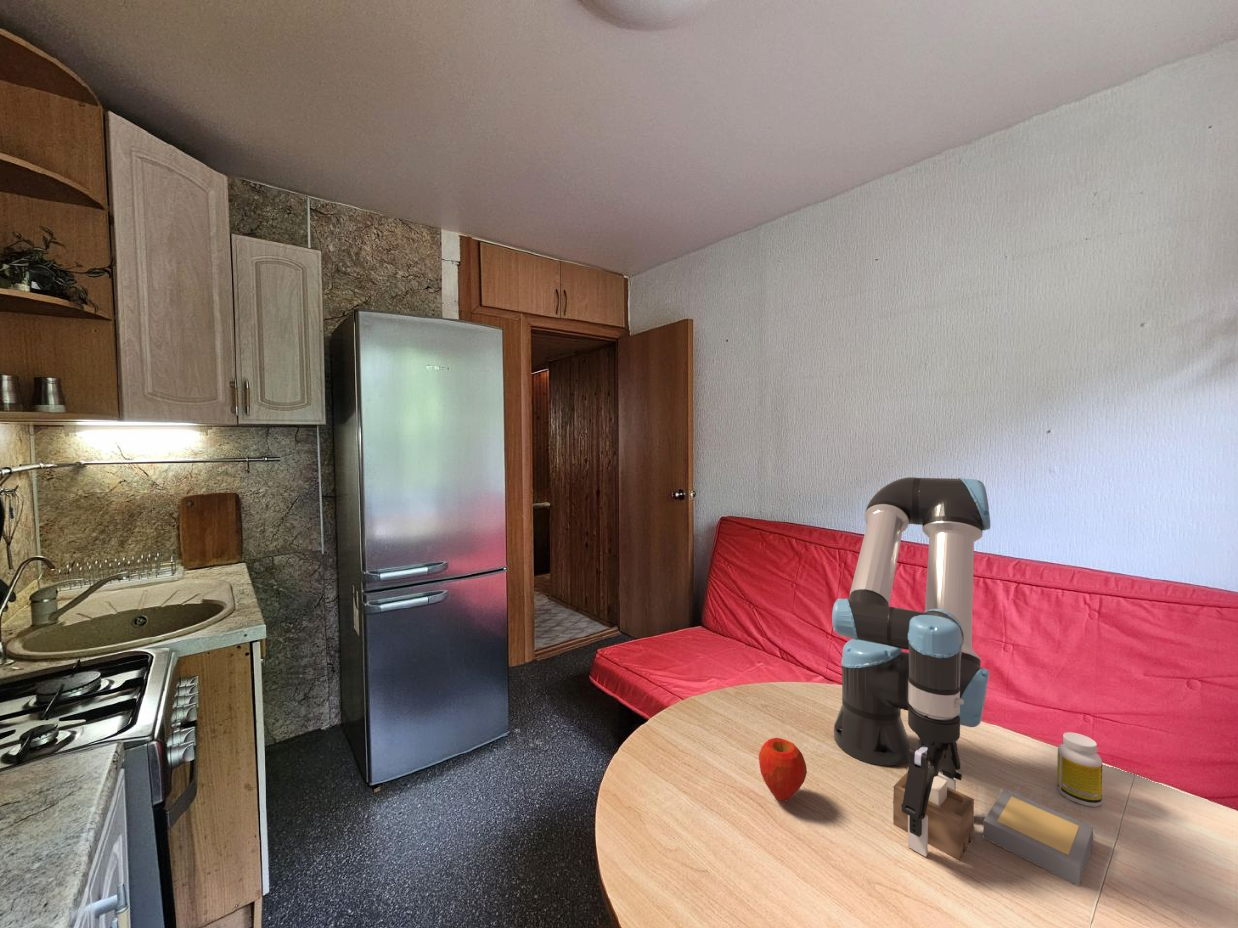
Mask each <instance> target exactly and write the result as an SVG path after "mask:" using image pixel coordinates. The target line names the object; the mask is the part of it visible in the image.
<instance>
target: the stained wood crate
mask: <svg viewBox="0 0 1238 928" xmlns="http://www.w3.org/2000/svg"><path fill="white" fill-rule="evenodd" d="M907 775H908V771H907V772H906V773H905V774H904V775H902V777H901V778H900V779H899V780H898V781H897V782H896V783H895V784H894V785H893V800H892V801H893V804H892V805H893V811H892V812H893V815H892V816H893V819H892V822H893V823H892V824H893V825H894V826H896V827H897V828H899V829H901V830H903V831H905V832H906V833H908V815H907V814H905V813H904V812H902V807H901V804H903V799H904V793H905V787H906V781H907ZM925 815H927V816H928V846H931V847H933V848H934V849H936V850H939V851H941V852H942V853H944V854H946V855H948V856H949V857H951V858H953V859H955V860H956V861H958V862H960V861H961V860H962V858H963V856H964V853H966V852H967V850H968V848H969V844H972V842H973V840H974V837H975V836H974V835H975V833H974V831H975V829H974V827H975V825H974V824H975V822H974V820H975V819H974V818H975V816H974V815H975V799H974V798H973V797H970V796H968V795H966V794H965V793H962V792H959V791H957V790H956V791H955V790H953V789H951V788H949V787H947V798H946V799H945V801H944V802H943V803H942V805H941V806H939V805H936V804H934V803H932V802H930V801H928V805H927V809H926V814H925Z"/></svg>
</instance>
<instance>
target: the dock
mask: <svg viewBox="0 0 1238 928" xmlns="http://www.w3.org/2000/svg"><path fill="white" fill-rule="evenodd" d="M982 834H983V836H982V837H983V839H985V840H987V841H989V842H991V843H992V844H995V845H996V846H999V847H1000V848H1002V849H1005V850H1007V851H1009V852H1010V853H1012V854H1015V855H1017V856H1019V857H1021V858H1022V859H1025V860H1027V861H1028V862H1031V864H1032V863H1033V864H1035V865H1036V866H1038V867H1041V868H1042V869H1044V870H1046V871H1048V872H1050V873H1052V874H1054V875H1055V876H1058V877H1059V878H1061V879H1064V880H1065V881H1068V882H1070V883H1072V884H1073V885H1076V886H1078V887H1080V885H1081V883H1082V879H1083V876H1084V874H1085V870H1086V866H1087V864H1088V860H1089V857H1090V854H1091V852H1092V848H1093V846H1094V845H1093V844H1094V827H1093V826H1091V825H1089V824H1086V823H1084V822H1081V821H1079V820H1078V819H1075V818H1073V817H1070V816H1068V815H1065V814H1063V813H1060V812H1059V811H1057V810H1054V809H1051V808H1049V807H1047V806H1044V805H1042V804H1040V803H1037V802H1035V801H1033V800H1031V799H1029V798H1026V797H1023V796H1021V795H1019V794H1017V793H1015V792H1012V791H1010V790H1008V789H1005V788H1003V789H1002V791H1001V792H1000V793H999V796H998V797H997V799H996V800H995V802H994V803H993V805H992V807H991V808H990V810H989V811H988V813H987V815H985V817H984V819H983V832H982Z"/></svg>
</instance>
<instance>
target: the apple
mask: <svg viewBox="0 0 1238 928" xmlns="http://www.w3.org/2000/svg"><path fill="white" fill-rule="evenodd" d="M758 764H759V769H760V773H761V774H760V775H761V776H762V779H763V781H764V783H765V785H766V786H767V788H768V790H769V791H770V793H771V794H772V796H773V798H775V799H777V800H778V801H779V802H787V801H789V800H791V799H792V798H793V796H794V795H796V793H797V792H798V791H799V790H800V789H801V787H802V785H804V783H805V780H806V777H807V773H808V771H807V769H808V768H807V764H806V760H805V757H804V755H803V753H802V752H801V750H800V748H798V747H797V746H796V745H795V743H793V742H792V741H789V740H787V739H784V738H781V737H774V738H773V737H772V738H770V739H768V740H767V741H766V742H764V743H763V745H762V746H761V749H760V751H759V753H758Z"/></svg>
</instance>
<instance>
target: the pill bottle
mask: <svg viewBox="0 0 1238 928" xmlns="http://www.w3.org/2000/svg"><path fill="white" fill-rule="evenodd" d="M1062 742H1063V743H1060V744H1059V745H1058V747H1057V755H1056V756H1057V760H1056V763H1057V764H1056V765H1057V770H1056V772H1057V773H1056V774H1057V775H1056V779H1057V780H1056V784H1057V785H1056V787H1057V790H1058V792H1059V793H1060V794H1061V795H1062V796H1064V797H1065V798H1066V799H1068V800H1070V801H1071V802H1073V803H1076V804H1079V805H1081V806H1082V805H1083V806H1086V807H1100V806H1101V804H1102V801H1103V760H1102V758H1101V756H1100V755H1099V754H1098V753H1097V752H1098V744H1097V742H1096V741H1095V740H1094V739H1093V738H1090V737H1089V736H1087V735H1083V734H1082V733H1081V734H1080V733H1077V732H1073V731H1067V732H1064V733H1063V734H1062Z"/></svg>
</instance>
